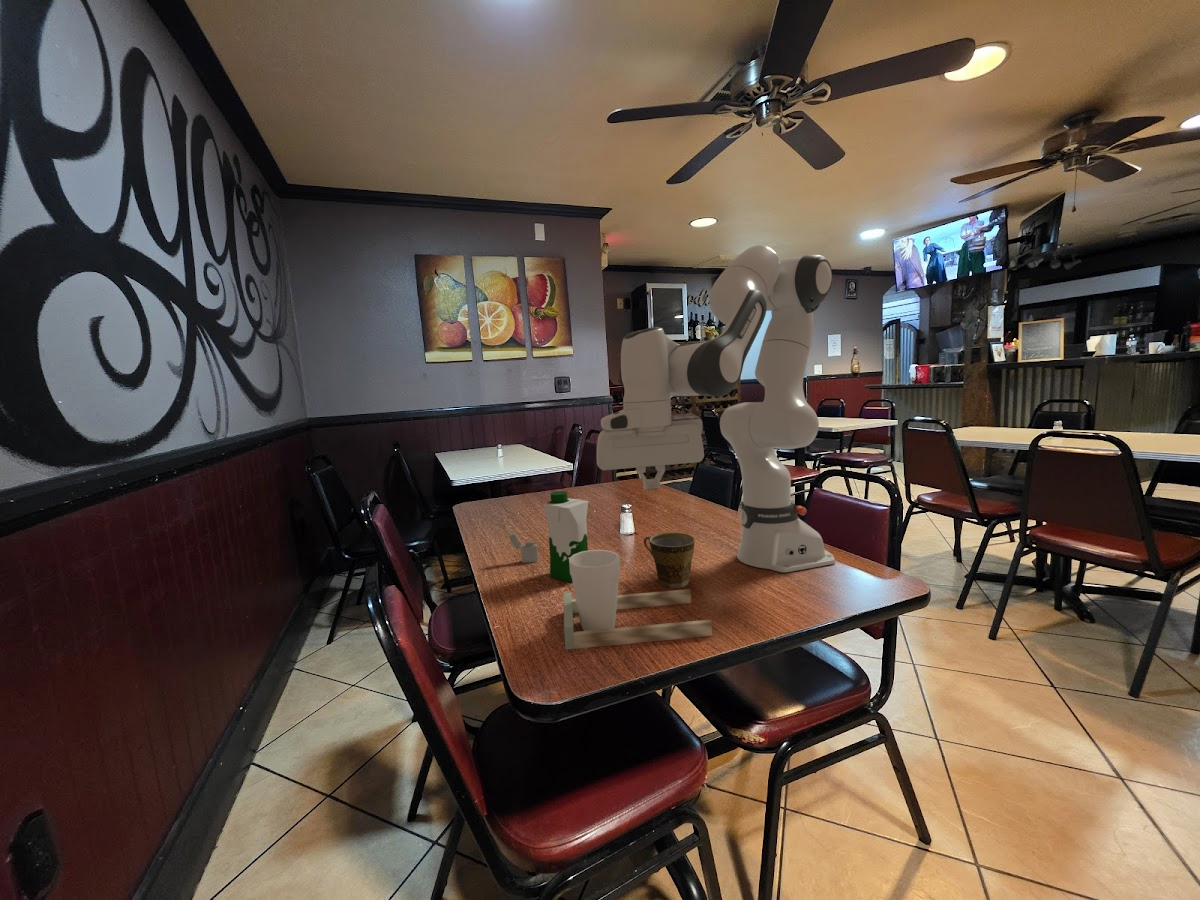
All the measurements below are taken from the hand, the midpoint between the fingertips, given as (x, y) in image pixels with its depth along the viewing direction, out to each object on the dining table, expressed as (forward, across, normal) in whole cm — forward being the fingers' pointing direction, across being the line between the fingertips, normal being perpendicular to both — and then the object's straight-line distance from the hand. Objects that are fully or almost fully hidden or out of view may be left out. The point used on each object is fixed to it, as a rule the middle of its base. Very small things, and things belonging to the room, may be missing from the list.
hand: (651, 489), depth 88 cm
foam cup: (+24, +12, +4) cm, 28 cm away
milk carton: (+24, +17, -22) cm, 37 cm away
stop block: (+24, +18, +4) cm, 30 cm away
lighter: (+24, +29, -34) cm, 51 cm away
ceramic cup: (+25, -5, -14) cm, 29 cm away
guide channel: (+24, +5, +4) cm, 25 cm away
